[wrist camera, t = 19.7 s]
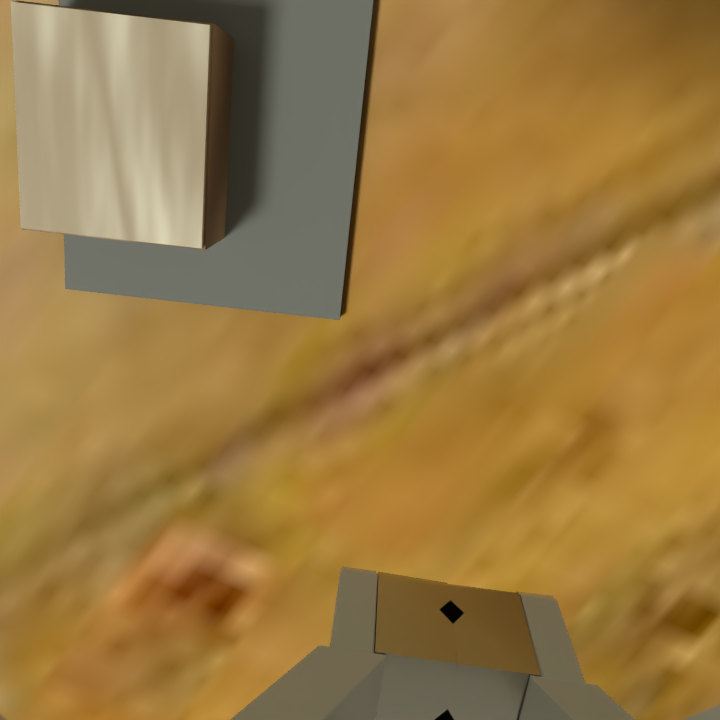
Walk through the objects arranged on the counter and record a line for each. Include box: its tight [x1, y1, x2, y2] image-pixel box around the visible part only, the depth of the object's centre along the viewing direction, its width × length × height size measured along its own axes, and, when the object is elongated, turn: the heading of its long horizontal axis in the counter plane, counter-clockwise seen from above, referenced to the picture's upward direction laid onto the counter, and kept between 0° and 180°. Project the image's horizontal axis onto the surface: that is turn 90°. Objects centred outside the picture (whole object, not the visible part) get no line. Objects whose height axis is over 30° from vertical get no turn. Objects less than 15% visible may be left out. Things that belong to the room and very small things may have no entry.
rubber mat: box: [59, 0, 374, 320], centre depth 32 cm, size 14×16×1 cm
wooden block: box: [11, 0, 234, 250], centre depth 30 cm, size 4×9×8 cm
